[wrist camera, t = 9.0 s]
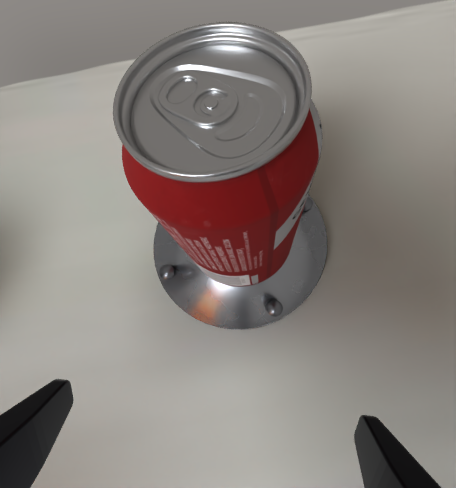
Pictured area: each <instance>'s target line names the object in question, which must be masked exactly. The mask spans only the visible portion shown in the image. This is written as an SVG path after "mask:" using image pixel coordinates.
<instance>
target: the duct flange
mask: <svg viewBox="0 0 456 488" xmlns="http://www.w3.org/2000/svg"><path fill="white" fill-rule="evenodd" d="M326 255H327V235H326V229H325V225H324V221H323V218H322V216H321V213H320V211H319V209H318V207H317V206H316V204H315V202H314V201H313V199H312V198H311V197H310V196H309V194H308V196H307V199H306V202H305V205H304V209H303V212H302V215H301V218H300V221H299V224H298V227H297V231H296V234H295V237H294V240H293V243H292V246H291V250H290V253H289V255H288V258H287V259H286V261H285V263H284V264H283V266H282V267H281V268H280V269H279V271H278V272H276V273H275V274H274V275H273V276H272V277H270V278H269V279H267V280H265V281H263V282H261V283H258V284H256V285H252V286H246V287H233V286H228V285H224V284H221V283H219V282H216V281H214V280H213V279H211V278H210V277H208V276H207V275H206V274H205V273H204V272H203V271H202V270H201V269H200V268H199V267H198V266H197V264H196V263H195V262H194V261H193V260H192V259H191V258H190V257H189V255H188V254H187V253H186V252H185V251H184V250H183V249H182V248H181V246H180V245H179V244H178V243H177V242H176V241H175V240H174V239H173V237H172V236H171V235H170V234H169V233H168V232H167V231H166V230H165V228H164V227H163V226H162V225H161V224H160V223H159V222H158V225H157V229H156V233H155V238H154V260H155V267H156V270H157V273H158V276H159V279H160V281H161V283H162V285H163V287H164V289H165V290H166V292H167V293H168V295H169V296H170V297H171V299H172V300H173V301H174V302H175V303H176V304H177V305H178V306H179V307H180V308H181V309H182V310H184V311H185V312H186V313H188V314H189V315H191V316H192V317H194V318H196V319H198V320H200V321H202V322H204V323H207V324H210V325H213V326H217V327H220V328H227V329H252V328H258V327H262V326H265V325H269V324H271V323H273V322H276V321H278V320H280V319H282V318H283V317H285V316H287V315H288V314H290V313H291V312H292V311H293V310H295V309H296V308H297V307H298V306H300V305H301V304H302V303H303V301H304V300H305V299H306V298H307V297H308V296H309V295H310V293H311V292H312V290H313V289H314V288H315V286H316V284H317V282H318V280H319V278H320V276H321V274H322V271H323V268H324V265H325V260H326Z"/></svg>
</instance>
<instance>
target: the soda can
mask: <svg viewBox="0 0 456 488" xmlns="http://www.w3.org/2000/svg"><path fill="white" fill-rule="evenodd" d="M311 93H312V86H311V77H310V72H309V69H308V66H307V64H306V62H305V60H304V58H303V57H302V55H301V54H300V53H299V51H298V50H297V49H296V48H295V47H294V46H293V45H292V44H291V43H290V42H289V41H287V40H286V39H285V38H283V37H281V36H280V35H278V34H276V33H274V32H272V31H270V30H268V29H265V28H262V27H259V26H255V25H251V24H246V23H237V22H218V23H209V24H203V25H198V26H194V27H191V28H187V29H184V30H182V31H179V32H176V33H174V34H172V35H170V36H168V37H166V38H164V39H162V40H160V41H159V42H157V43H156V44H154V45H153V46H151V47H150V48H149V49H147V50H146V51H145V52H144V53H143V54H141V55H140V56H139V57H138V58H137V59H136V60H135V61H134V63H133V64H132V65H131V66H130V67H129V69H128V70H127V71H126V73H125V74H124V76H123V78H122V80H121V82H120V84H119V86H118V88H117V91H116V94H115V98H114V104H113V119H114V124H115V128H116V131H117V134H118V136H119V138H120V140H121V142H122V144H123V146H122V160H123V167H124V171H125V175H126V178H127V180H128V183H129V185H130V187H131V189H132V190H133V192H134V193H135V195H136V196H137V198H138V199H139V200H140V201H141V202H142V204H143V205H144V206H145V207H146V208H147V209H148V210H149V212H150V213H151V214H152V215H153V216H154V217H155V218H156V219H157V221H158V222H159V223H160V224H161V225H162V226H163V227H164V228H165V230H166V231H167V232H168V233H169V234H170V235H171V236H172V237H173V239H174V240H175V241H176V242H177V243H178V244H179V245H180V246H181V248H182V249H183V250H184V251H185V252H186V253H187V254H188V255H189V257H190V258H191V259H192V260H193V261H194V262H195V263H196V264H197V266H198V267H199V268H200V269H201V270H202V271H203V272H204V273H205V274H206V275H207V276H208V277H210V278H211V279H213V280H214V281H216V282H219V283H221V284H224V285H228V286H233V287H246V286H252V285H256V284H258V283H261V282H263V281H265V280H267V279H269V278H270V277H272V276H273V275H274V274H275V273H276V272H278V271H279V269H280V268H281V267H282V266H283V264H284V263H285V261H286V259H287V258H288V255H289V253H290V250H291V246H292V243H293V240H294V237H295V234H296V231H297V227H298V224H299V221H300V218H301V215H302V212H303V209H304V205H305V202H306V199H307V196H308V193H309V190H310V187H311V183H312V180H313V177H314V174H315V171H316V168H317V164H318V161H319V158H320V154H321V149H322V126H321V121H320V117H319V114H318V111H317V109H316V107H315V105H314V103H313V101H312V99H311Z"/></svg>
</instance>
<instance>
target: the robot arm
mask: <svg viewBox="0 0 456 488" xmlns="http://www.w3.org/2000/svg"><path fill="white" fill-rule="evenodd" d="M72 404H73V394H72V389H71V384H70V382H69V381H68V380H62V379H56V380H53V381H52V382H50V383H49V384H47V385H46V386H44V387H43V388H41V389H39V390H38V391H36V392H35V393H33V394H32V395H30V396H29V397H27V398H26V399H24V400H23V401H21V402H20V403H18V404H17V405H15V406H14V407H12V408H11V409H9V410H8V411H6V412H4V413H3V414H1V415H0V488H30V487H31V485H32V484H33V482H34V480H35V479H36V477H37V475H38V474H39V472H40V470H41V468H42V466H43V465H44V463H45V461H46V459H47V457H48V455H49V453H50V451H51V449H52V447H53V445H54V443H55V441H56V439H57V436H58V434H59V432H60V430H61V428H62V426H63V424H64V422H65V420H66V418H67V416H68V414H69V412H70V409H71V407H72ZM354 440H355V445H356V450H357V455H358V459H359V464H360V469H361V473H362V478H363V483H364V487H365V488H441V487H440V486H439V485H438V484H437V482H436V481H435V480H434V479H433V478H432V477H431V476H430V475H429V474H428V473H427V472H426V470H425V469H424V468H423V467H422V466H421V465H420V464H419V463H418V462H417V461H416V460H415V458H414V457H413V456H412V455H411V454H410V453H409V452H408V451H407V450H406V449H405V448H404V446H403V445H402V444H401V443H400V442H399V441H398V440H397V439H396V438H395V437H394V435H393V434H392V433H391V432H390V431H389V430H388V429H387V428H386V427H385V426H384V425H383V423H382V422H381V421H380V420H379V419H378V418H376V417H374V416H367V415H362V416H361V417H360V419H359V422H358V425H357V427H356V430H355V434H354Z"/></svg>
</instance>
